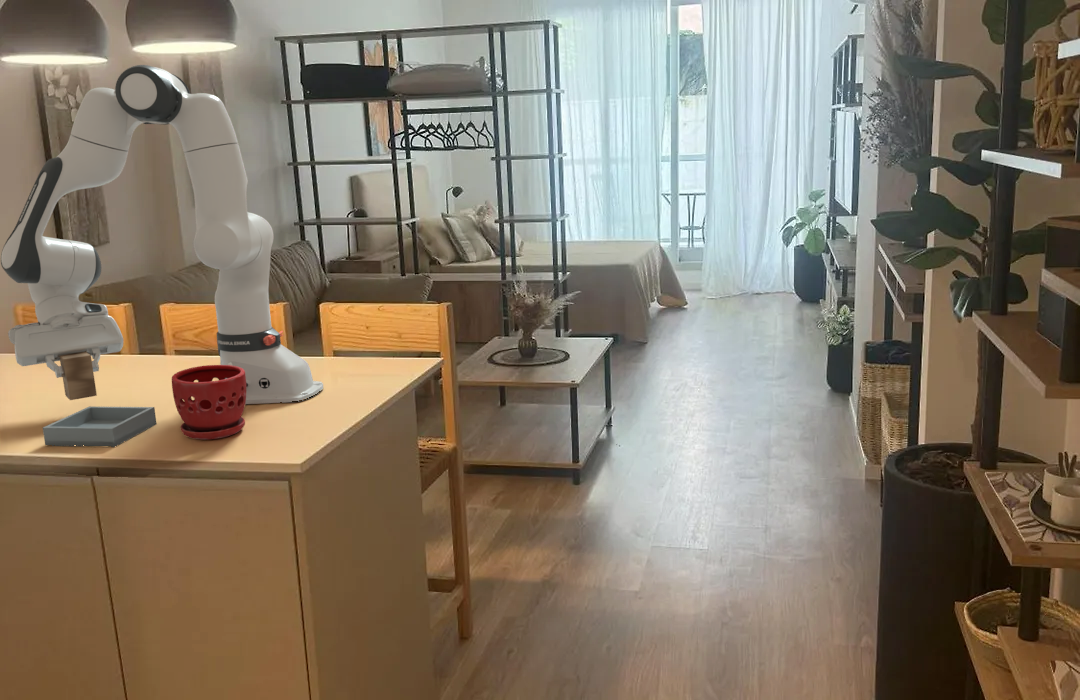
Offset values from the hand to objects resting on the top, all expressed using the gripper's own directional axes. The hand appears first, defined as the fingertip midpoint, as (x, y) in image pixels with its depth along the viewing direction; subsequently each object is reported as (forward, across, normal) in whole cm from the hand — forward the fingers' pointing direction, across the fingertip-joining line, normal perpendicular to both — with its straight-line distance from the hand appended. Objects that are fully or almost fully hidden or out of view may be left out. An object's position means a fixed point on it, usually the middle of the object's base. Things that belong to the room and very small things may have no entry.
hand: (78, 372), depth 192 cm
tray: (+19, 0, -6) cm, 20 cm away
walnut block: (+3, 0, +4) cm, 5 cm away
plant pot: (+29, +17, -16) cm, 37 cm away
